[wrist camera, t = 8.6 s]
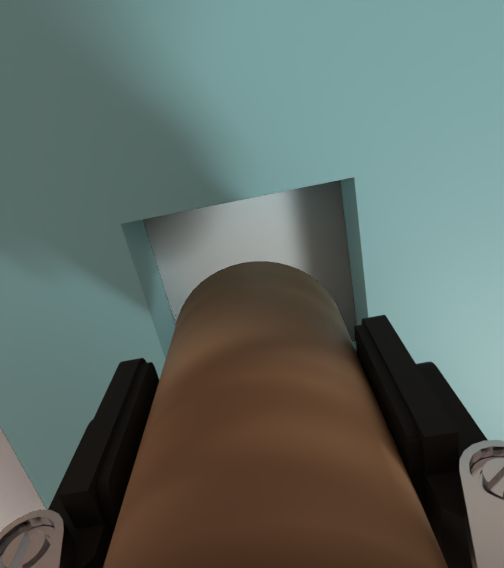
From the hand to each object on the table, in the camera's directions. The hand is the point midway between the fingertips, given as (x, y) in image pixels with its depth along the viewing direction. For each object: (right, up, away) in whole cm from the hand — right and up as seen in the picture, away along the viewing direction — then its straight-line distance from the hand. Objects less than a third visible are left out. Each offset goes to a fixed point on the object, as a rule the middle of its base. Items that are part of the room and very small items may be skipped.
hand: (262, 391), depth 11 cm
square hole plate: (0, +3, +7) cm, 7 cm away
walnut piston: (0, +1, +2) cm, 2 cm away
